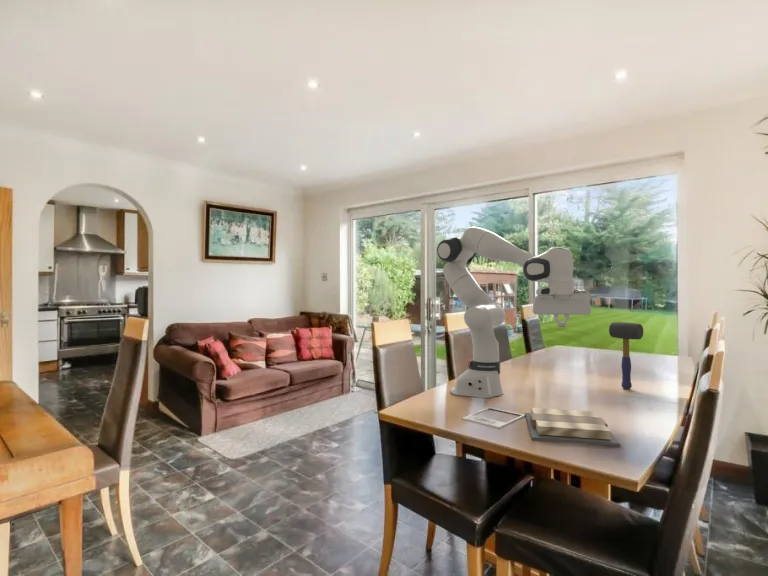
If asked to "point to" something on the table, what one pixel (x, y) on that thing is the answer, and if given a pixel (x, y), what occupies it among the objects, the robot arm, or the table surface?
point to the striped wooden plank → (566, 419)
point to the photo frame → (489, 421)
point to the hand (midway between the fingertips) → (561, 326)
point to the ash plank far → (563, 412)
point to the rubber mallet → (626, 346)
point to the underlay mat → (569, 439)
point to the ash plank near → (573, 429)
